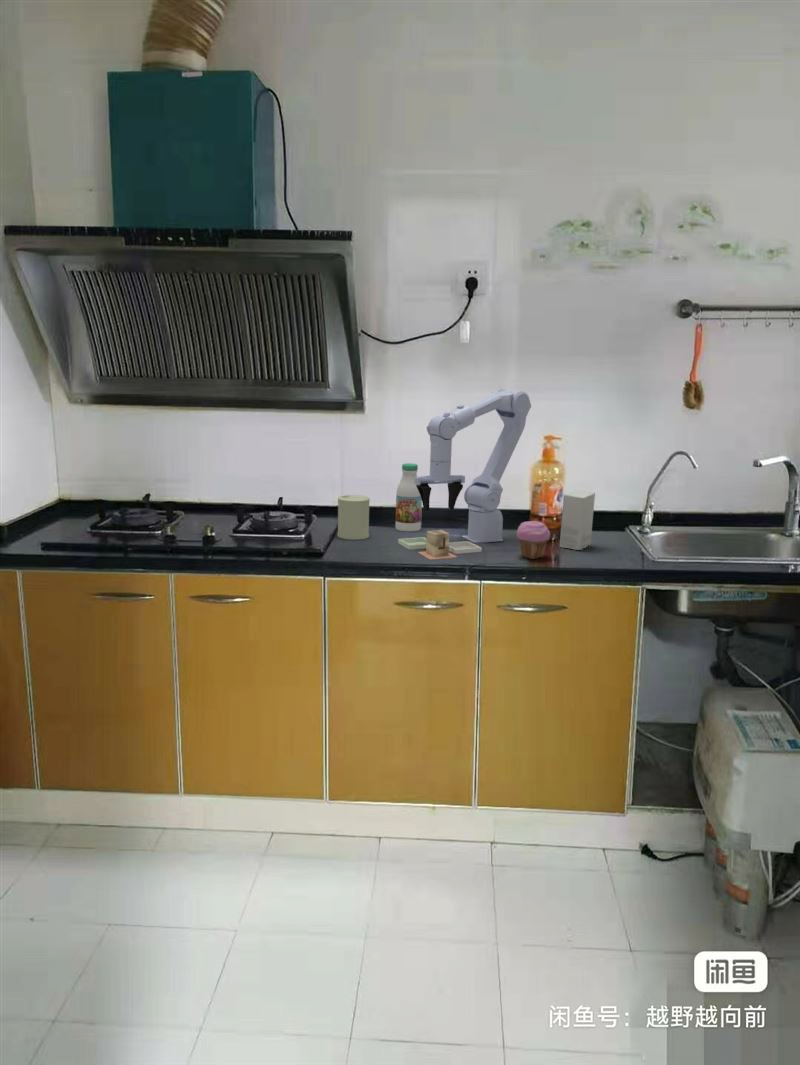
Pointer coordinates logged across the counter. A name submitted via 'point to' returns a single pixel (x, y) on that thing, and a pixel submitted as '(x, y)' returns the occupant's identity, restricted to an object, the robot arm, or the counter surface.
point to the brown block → (437, 543)
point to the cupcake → (533, 538)
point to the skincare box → (577, 519)
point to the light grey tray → (463, 547)
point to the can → (353, 517)
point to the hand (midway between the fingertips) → (438, 509)
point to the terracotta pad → (437, 557)
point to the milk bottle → (408, 501)
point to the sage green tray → (413, 543)
